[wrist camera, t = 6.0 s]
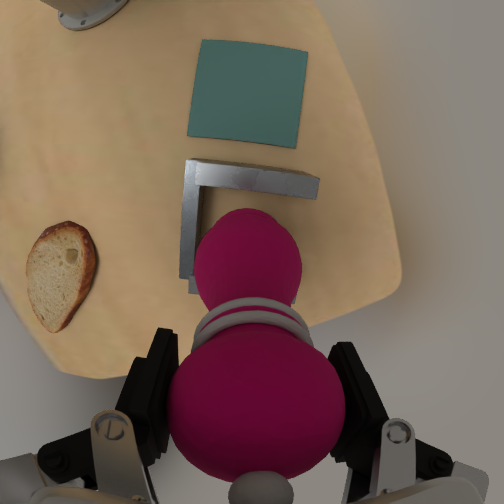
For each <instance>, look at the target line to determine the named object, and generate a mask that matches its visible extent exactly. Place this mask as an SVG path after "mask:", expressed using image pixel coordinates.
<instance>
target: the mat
mask: <svg viewBox="0 0 504 504" xmlns="http://www.w3.org/2000/svg"><path fill="white" fill-rule="evenodd" d="M307 57H308V52H305V51H301V50H295V49H290V48H285V47H279V46H272V45H265V44H257V43H249V42H238V41H225V40H202V43H201V48H200V53H199V59H198V64H197V70H196V76H195V82H194V88H193V95H192V102H191V109H190V116H189V124H188V132H187V136H194V137H207V138H219V139H229V140H239V141H247V142H255V143H263V144H270V145H277V146H283V147H289V148H295V147H296V140H297V133H298V126H299V119H300V112H301V104H302V97H303V89H304V81H305V73H306V65H307Z"/></svg>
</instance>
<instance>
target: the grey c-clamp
mask: <svg viewBox="0 0 504 504" xmlns="http://www.w3.org/2000/svg"><path fill="white" fill-rule="evenodd" d="M319 180H320V178H317V177H315V176H313V175H310V174H308V173H306V172H303V171H296V170H290V169H284V168H277V167H270V166H263V165H255V164H247V163H239V162H230V161H220V160H209V159H197V158H192V159H187V160H186V168H185V179H184V191H183V204H182V220H181V239H180V267H179V278H181V279H189V292H188V293H190V294H198V295H200V294H199V292H198V289H197V285H196V281H195V276H194V263H195V257H196V252H197V249H198V246H199V244H200V233H201V220H202V208H203V197H204V186H214V187H224V188H233V189H241V190H250V191H258V192H266V193H273V194H280V195H287V196H294V197H301V198H307V199H314V200H316V198H317V192H318V186H319ZM296 295H297V294H296ZM295 299H296V296H295V298H294V299H293V301H292V303H291V304H295Z"/></svg>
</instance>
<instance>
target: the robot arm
mask: <svg viewBox="0 0 504 504" xmlns="http://www.w3.org/2000/svg"><path fill="white" fill-rule="evenodd" d="M40 1H42V2H44V3H46V4H47V5H49V6H51V7H53V8H55V9H57V10H58V19H59V21H60V23H61V24H62V25H63V26H64V27H66V28H67V29H70V30H84V29H88V28H91V27H93V26H95V25H97V24H99V23H101V22H103V21H105V20H106V19H108V18H109V17H111V16H112V15H113V14H115V13H116V12H117V11H118V10H119V9H120V8H121V7H122V6H124V4H125V3H126V2H127V1H128V0H40ZM328 361H329V362H330V363H331V364H332V365H333V367H334V368H335V370H336V372H337V374H338V377H339V379H340V381H341V384H342V388H343V392H344V396H345V409H346V413H345V421H344V425H343V428H342V431H341V433H340V436H339V438H338V440H337V443H336V444H335V446H334V447H333V448H332V450H331V451H330V455H331V456H332V457H335V461H336V463H340V462H346V464H347V466H348V467H349V468H348V474H347V479H346V484H345V489H344V493H343V498H342V502H341V504H484V501H485V497H486V492H487V489H488V484H489V478H488V475H487V474H486V473H485V472H483V471H482V470H479V469H477V468H474V467H471V466H468V465H466V464H463V463H460V462H458V461H455V462H453V461H452V459H451V457H450V456H449V455H448V454H447V453H446V452H444V451H442V450H440V449H437V448H435V447H433V446H430V445H428V444H426V443H424V442H422V441H420V440H418V439H415V433H414V429H413V428H412V426H411V425H410V424H409V423H408V422H407V421H405V420H403V419H399V418H393V419H389V417H388V415H387V413H386V410H385V408H384V406H383V404H382V401H381V399H380V397H379V395H378V393H377V391H376V388H375V386H374V384H373V382H372V380H371V378H370V375H369V374H368V372H366V370H365V368H364V366H363V364H362V362H361V360H360V358H359V356H358V353H357V351H356V349H355V347H354V345H353V344H352V343H351V342H337V344H336V345H333V347H332V349H331V351H330V354H329V356H328ZM178 367H179V359H178V335H177V334H175V333H173V330H172V329H165V328H158V329H157V331H156V334H155V336H154V339H153V342H152V344H151V347H150V349H149V352H148V355H147V358H142V357H136V358H135V359H134V361H133V363H132V366H131V368H130V371H129V373H128V376H127V378H126V381H125V384H124V386H123V389H122V391H121V394H120V397H119V399H118V402H117V405H116V407H115V410H104V411H101V412H99V413H98V414H96V415H95V416H94V418H93V419H92V421H91V427H90V428H89V429H86V430H83V431H81V432H78V433H76V434H73V435H70V436H67V437H65V438H62V439H59V440H56V441H53V442H50V443H47V444H45V445H43V446H42V447H41V448H40V449H39V451H38V453H37V454H35V455H33V454H32V453H28V454H24V455H21V456H17V457H13V458H9V459H5V460H1V461H0V504H160V502H159V499H158V496H157V493H156V490H155V487H154V483H153V480H152V477H151V473H150V469H149V466H150V465H152V464H154V463H155V458H157V459H160V457H161V453H166V451H167V446H168V440H169V435H170V432H169V428H168V423H167V418H166V400H167V394H168V389H169V385H170V383H171V380H172V377H173V375H174V373H175V372H176V370H177V369H178ZM95 490H98V491H95Z"/></svg>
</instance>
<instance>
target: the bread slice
mask: <svg viewBox="0 0 504 504" xmlns="http://www.w3.org/2000/svg"><path fill="white" fill-rule="evenodd" d="M95 264H96V260H95V252H94V247H93V244H92V241H91V239H90V236H89V232H88V231H87V229H86V228H84V227H83V226H80V225H78V224H76V223H74V222H72V221H66V222H62V223H59V224H57V225H54V226H51V227H49V228H47V229H45V230H44V231H43V233H42V234H41V236H40V237H39V238H38V240H37V241H36V242H35V244H34V246H33V248H32V250H31V252H30V254H29V256H28V261H27V265H26V275H27V279H28V295H29V300H30V302H31V305H32V308H33V311H34V313H35V314H36V316H37V318H38V320H39V321H40V322H41V324H42V325H43V326H44V327H45V328H46V329H47V330H48V331H49V332H51V333H57V332H59V331H61V330H62V329H63V328H65V327H66V326H67V324H68V323H69V322H70V320H71V319H72V317H73V315H74V313H75V312H76V310H77V309H78V307H79V306H80V305H81V303H82V301H83V300H84V298H85V296H86V294H87V292H88V291H89V288H90V285H91V280H92V277H93V274H94V270H95Z"/></svg>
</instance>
